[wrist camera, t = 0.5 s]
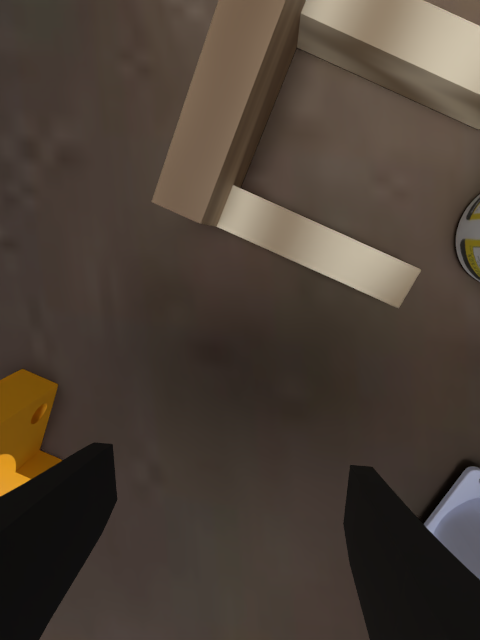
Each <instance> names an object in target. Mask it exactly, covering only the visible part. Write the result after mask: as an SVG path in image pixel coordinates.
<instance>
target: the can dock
mask: <svg viewBox="0 0 480 640" xmlns="http://www.w3.org/2000/svg"><path fill="white" fill-rule="evenodd" d="M296 48H299V49H301V50H303V51H306V52H308V53H310V54H312V55H314V56H317V57H319V58H321V59H323V60H325V61H328V62H330V63H332V64H334V65H336V66H339V67H341V68H343V69H345V70H347V71H350V72H352V73H354V74H356V75H359V76H361V77H363V78H365V79H367V80H370V81H372V82H374V83H376V84H378V85H381V86H383V87H385V88H387V89H389V90H392V91H394V92H396V93H398V94H400V95H403V96H405V97H407V98H409V99H411V100H414V101H416V102H418V103H420V104H422V105H425V106H427V107H429V108H431V109H434V110H436V111H438V112H440V113H442V114H445V115H447V116H449V117H451V118H453V119H456V120H458V121H460V122H462V123H464V124H467V125H469V126H471V127H473V128H475V129H478V130H479V129H480V26H478V25H476V24H474V23H472V22H470V21H467V20H465V19H463V18H461V17H459V16H456V15H454V14H452V13H450V12H448V11H445V10H443V9H441V8H439V7H437V6H434V5H432V4H430V3H428V2H426V1H423V0H219V1H218V4H217V7H216V10H215V13H214V16H213V19H212V22H211V25H210V28H209V31H208V34H207V37H206V40H205V43H204V46H203V49H202V52H201V55H200V58H199V61H198V64H197V67H196V70H195V73H194V76H193V79H192V82H191V85H190V88H189V91H188V94H187V97H186V100H185V103H184V106H183V109H182V112H181V115H180V118H179V121H178V124H177V127H176V130H175V133H174V136H173V139H172V142H171V145H170V148H169V151H168V154H167V157H166V160H165V163H164V166H163V169H162V172H161V175H160V178H159V181H158V184H157V187H156V190H155V193H154V196H153V199H152V202H153V203H155V204H157V205H160V206H162V207H164V208H166V209H168V210H171V211H173V212H175V213H177V214H180V215H182V216H184V217H186V218H189V219H191V220H193V221H195V222H197V223H200V224H204V225H210V226H216V227H219V228H221V229H223V230H225V231H228V232H230V233H232V234H234V235H236V236H239V237H241V238H243V239H245V240H248V241H250V242H252V243H254V244H256V245H259V246H261V247H263V248H265V249H268V250H270V251H272V252H274V253H277V254H279V255H281V256H283V257H285V258H288V259H290V260H292V261H294V262H297V263H299V264H301V265H303V266H305V267H308V268H310V269H312V270H314V271H317V272H319V273H321V274H323V275H326V276H328V277H330V278H332V279H334V280H337V281H339V282H341V283H343V284H346V285H348V286H350V287H352V288H354V289H357V290H359V291H361V292H363V293H366V294H368V295H370V296H372V297H375V298H377V299H379V300H381V301H383V302H386V303H388V304H390V305H392V306H395V307H397V308H399V307H400V305H401V304H402V302H403V300H404V298H405V297H406V295H407V293H408V292H409V290H410V288H411V287H412V285H413V283H414V281H415V280H416V278H417V276H418V275H419V273H420V271H421V269H419V268H416V267H414V266H412V265H410V264H407V263H405V262H403V261H401V260H399V259H396V258H394V257H392V256H390V255H387V254H385V253H383V252H381V251H379V250H376V249H374V248H372V247H370V246H367V245H365V244H363V243H361V242H359V241H356V240H354V239H352V238H350V237H347V236H345V235H343V234H341V233H339V232H336V231H334V230H332V229H330V228H327V227H325V226H323V225H321V224H319V223H316V222H314V221H312V220H310V219H307V218H305V217H303V216H301V215H299V214H296V213H294V212H292V211H290V210H287V209H285V208H283V207H281V206H279V205H276V204H274V203H272V202H270V201H267V200H265V199H263V198H261V197H259V196H256V195H254V194H252V193H250V192H247V191H245V190H243V189H241V185H242V183H243V180H244V178H245V176H246V173H247V171H248V168H249V166H250V163H251V161H252V158H253V156H254V153H255V151H256V148H257V146H258V143H259V141H260V138H261V136H262V133H263V131H264V128H265V126H266V123H267V121H268V118H269V116H270V113H271V111H272V108H273V106H274V103H275V101H276V98H277V96H278V93H279V91H280V88H281V86H282V83H283V81H284V78H285V76H286V73H287V71H288V68H289V66H290V63H291V61H292V58H293V56H294V53H295V51H296Z"/></svg>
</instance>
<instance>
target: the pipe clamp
mask: <svg viewBox="0 0 480 640" xmlns="http://www.w3.org/2000/svg"><path fill="white" fill-rule="evenodd" d="M57 388H58V384H56V383H54V382H52V381H49V380H47V379H45V378H43V377H40V376H38V375H36V374H33V373H31V372H29V371H26V370H24V369H21V370H19V371H17V372H15V373H13V374H11V375H9V376H7V377H6V378H4V379H2V380H0V496H2V495H4V494H6V493H8V492H10V491H11V490H13V489H15V488H17V487H19V486H20V485H22V484H24V483H26V482H27V481H29V480H31V479H32V478H34V477H36V476H37V475H39V474H41V473H42V472H44V471H46V470H48V469H49V468H51V467H53V466H54V465H56V464H58V463H59V462H61V461H62V460H61V459H59V458H57V457H54V456H52V455H50V454H47V453H45V452H43V451H40V447H41V444H42V440H43V437H44V433H45V430H46V426H47V423H48V419H49V416H50V412H51V409H52V405H53V402H54V398H55V395H56V391H57Z"/></svg>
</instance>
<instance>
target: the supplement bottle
mask: <svg viewBox="0 0 480 640" xmlns="http://www.w3.org/2000/svg"><path fill="white" fill-rule="evenodd" d="M456 251H457V255H458V258H459V261H460V263H461V265H462V266H463V268H464V269H465V270H466V271H467V273H468V274H469V275H471V276H472V277H473V278H475V279H476V280H478V281H479V282H480V194H479V195H478V196H477V197H476V198H475V199H474V200H473V201H472V202H471V203H470V205H469V206H468V207H467V209H466V210H465V212H464V214H463V216H462V217H461V220H460V222H459V225H458V228H457V233H456Z"/></svg>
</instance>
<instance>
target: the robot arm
mask: <svg viewBox="0 0 480 640" xmlns="http://www.w3.org/2000/svg"><path fill="white" fill-rule="evenodd" d="M479 479H480V468H478V467H475V466H471V467H468V468H466V469H465V470H464V471H463V473H462V474H461V475H460V477H459V478H458V479H457V481H456V482H455V483H454V485H453V486H452V487H451V489H450V490H449V491H448V492H447V494H446V495H445V496H444V498H443V499H442V500H441V502H440V503H439V504H438V506H437V507H436V508H435V510H434V511H433V512H432V514H431V515H430V516H429V518H428V519H427V520H426V522H425V523H424V524H423V523H422V522H421V521H420V520H419V519H418V518H417V517H416V516H415V515H414V514H413V513H412V511H411V510H410V509H409V508H408V507H407V506H406V505H405V504H404V503H403V501H402V500H401V499H400V498H399V497H398V496H397V495H396V494H395V492H394V491H393V490H392V489H391V488H390V487H389V486H388V484H387V483H386V482H385V481H384V480H383V479H382V478H381V476H380V475H379V474H378V473H377V472H376V471H375V470H374V468H373V467H367V466H356V465H350V471H349V480H348V489H347V497H346V506H345V515H344V523H343V524H344V530H345V537H346V543H347V550H348V556H349V562H350V566H351V570H352V574H353V578H354V581H355V585H356V589H357V593H358V597H359V600H360V604H361V608H362V612H363V615H364V619H365V623H366V627H367V630H368V634H369V638H370V640H480V480H479ZM116 501H117V491H116V480H115V468H114V456H113V444H104V443H92V444H90V445H88V446H87V447H85V448H83V449H81V450H79V451H78V452H76V453H74V454H73V455H71V456H69V457H68V458H66V459H64V460H63V461H61V462H59V463H58V464H56V465H54V466H53V467H51V468H49V469H48V470H46V471H44V472H42V473H41V474H39V475H37V476H36V477H34V478H32V479H31V480H29V481H27V482H26V483H24V484H22V485H20V486H19V487H17V488H15V489H13V490H11V491H10V492H8V493H6V494H4V495H2V496H0V640H39V639H40V637H41V635H42V633H43V632H44V630H45V628H46V626H47V625H48V623H49V621H50V619H51V618H52V616H53V614H54V613H55V611H56V609H57V608H58V606H59V604H60V603H61V601H62V599H63V598H64V596H65V594H66V593H67V591H68V589H69V588H70V586H71V584H72V583H73V581H74V579H75V578H76V576H77V574H78V573H79V571H80V570H81V568H82V566H83V565H84V563H85V561H86V560H87V558H88V556H89V555H90V553H91V551H92V549H93V548H94V546H95V544H96V543H97V541H98V539H99V538H100V536H101V534H102V532H103V530H104V528H105V526H106V524H107V521H108V519H109V517H110V515H111V513H112V510H113V508H114V506H115V503H116Z"/></svg>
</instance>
